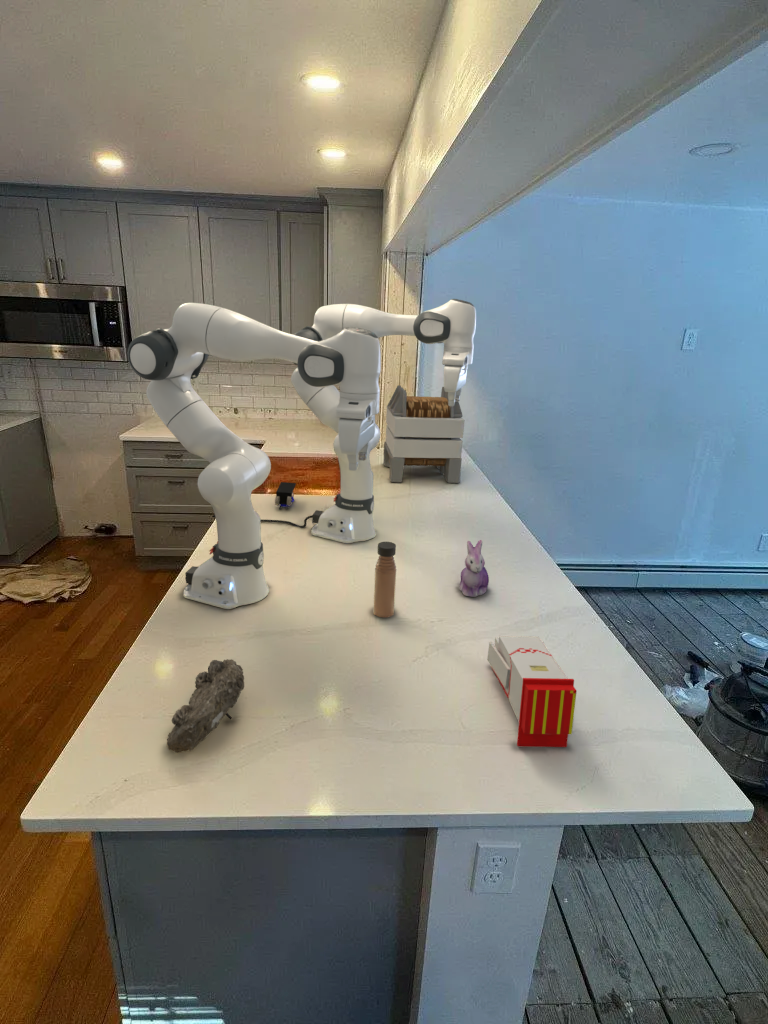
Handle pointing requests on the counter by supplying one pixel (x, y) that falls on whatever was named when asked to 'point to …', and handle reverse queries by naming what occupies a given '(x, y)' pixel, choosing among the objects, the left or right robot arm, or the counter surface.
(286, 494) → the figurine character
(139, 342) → the left robot arm
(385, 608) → the bottle
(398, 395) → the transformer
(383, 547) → the cap
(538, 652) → the toy
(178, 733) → the fossil
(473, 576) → the figurine
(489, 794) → the counter surface
